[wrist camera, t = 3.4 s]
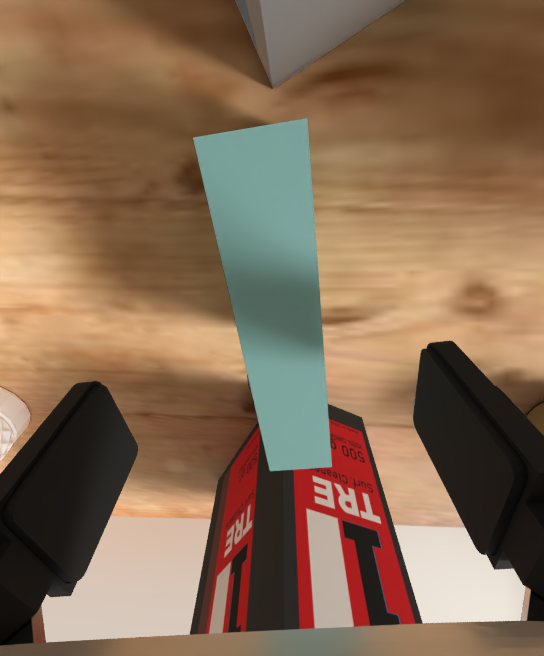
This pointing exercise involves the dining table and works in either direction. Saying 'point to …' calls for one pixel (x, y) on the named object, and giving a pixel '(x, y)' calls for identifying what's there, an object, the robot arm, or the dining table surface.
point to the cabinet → (304, 29)
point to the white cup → (11, 419)
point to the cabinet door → (273, 281)
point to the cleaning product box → (303, 544)
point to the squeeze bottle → (537, 417)
